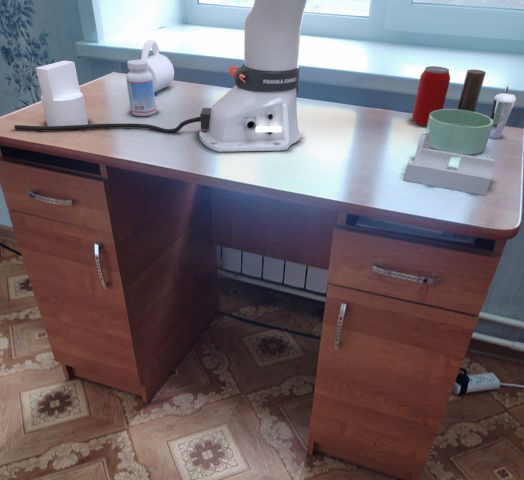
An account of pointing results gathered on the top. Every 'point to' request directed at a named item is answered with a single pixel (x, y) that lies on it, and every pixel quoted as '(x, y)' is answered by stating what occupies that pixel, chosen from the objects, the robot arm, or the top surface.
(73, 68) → the white stepped block
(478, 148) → the bowl
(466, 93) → the pestle
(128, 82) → the pill bottle
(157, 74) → the mug
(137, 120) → the top surface
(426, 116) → the beverage can
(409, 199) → the top surface
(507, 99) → the milkshake
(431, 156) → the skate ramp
